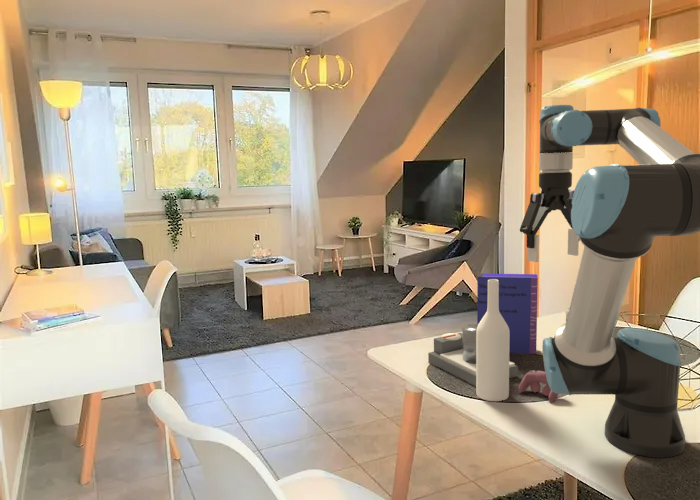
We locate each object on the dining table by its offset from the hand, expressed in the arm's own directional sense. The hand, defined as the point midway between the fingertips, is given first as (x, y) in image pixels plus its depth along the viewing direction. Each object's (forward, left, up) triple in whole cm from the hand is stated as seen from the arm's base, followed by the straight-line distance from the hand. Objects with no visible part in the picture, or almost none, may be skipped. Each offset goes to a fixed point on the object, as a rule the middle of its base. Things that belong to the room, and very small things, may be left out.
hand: (553, 258), depth 143 cm
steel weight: (+9, +19, -31) cm, 38 cm away
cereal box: (+29, +12, -35) cm, 47 cm away
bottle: (-6, +14, -35) cm, 38 cm away
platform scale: (+11, +21, -35) cm, 42 cm away
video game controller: (-3, +3, -35) cm, 35 cm away
